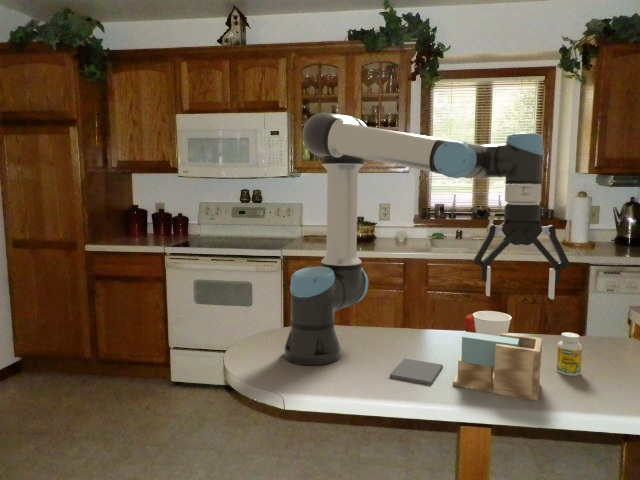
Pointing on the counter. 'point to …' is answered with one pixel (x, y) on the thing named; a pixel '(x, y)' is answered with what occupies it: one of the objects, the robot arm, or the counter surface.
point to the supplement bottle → (569, 354)
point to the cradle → (506, 370)
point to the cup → (491, 322)
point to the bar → (483, 347)
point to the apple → (470, 323)
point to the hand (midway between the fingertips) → (518, 296)
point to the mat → (416, 371)
